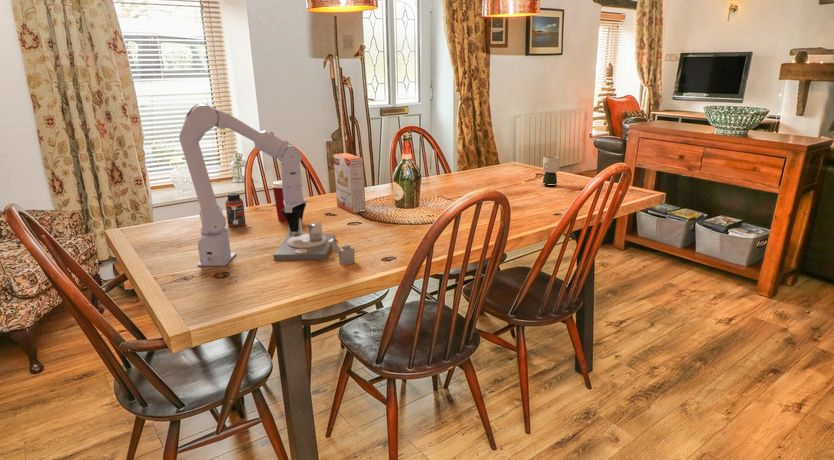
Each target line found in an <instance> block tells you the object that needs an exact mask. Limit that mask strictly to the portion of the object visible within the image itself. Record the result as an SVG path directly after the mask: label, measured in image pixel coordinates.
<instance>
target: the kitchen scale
mask: <svg viewBox="0 0 834 460" xmlns="http://www.w3.org/2000/svg"><path fill="white" fill-rule="evenodd" d="M330 239H334V240H335V241H336V234H322V241H319V242H310V241H309V233H304V234H302V235H301V236H298V237H291V236H289V234H288V235H287V236H286V238H285V239H283V241H282V243H281V244H280V245H279V246H278V248H277V249H276V251H275V252H274V253H273V254H272V257H273V261H282V260H283V261H287V260H288V261H289V260H294V261H295V260H301V261H302V260H327V257H328V256H329V255H328V254H329V252H330V251H331V249H332V247H331V245H330V244H329V242H328V241H329V240H330Z"/></svg>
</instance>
